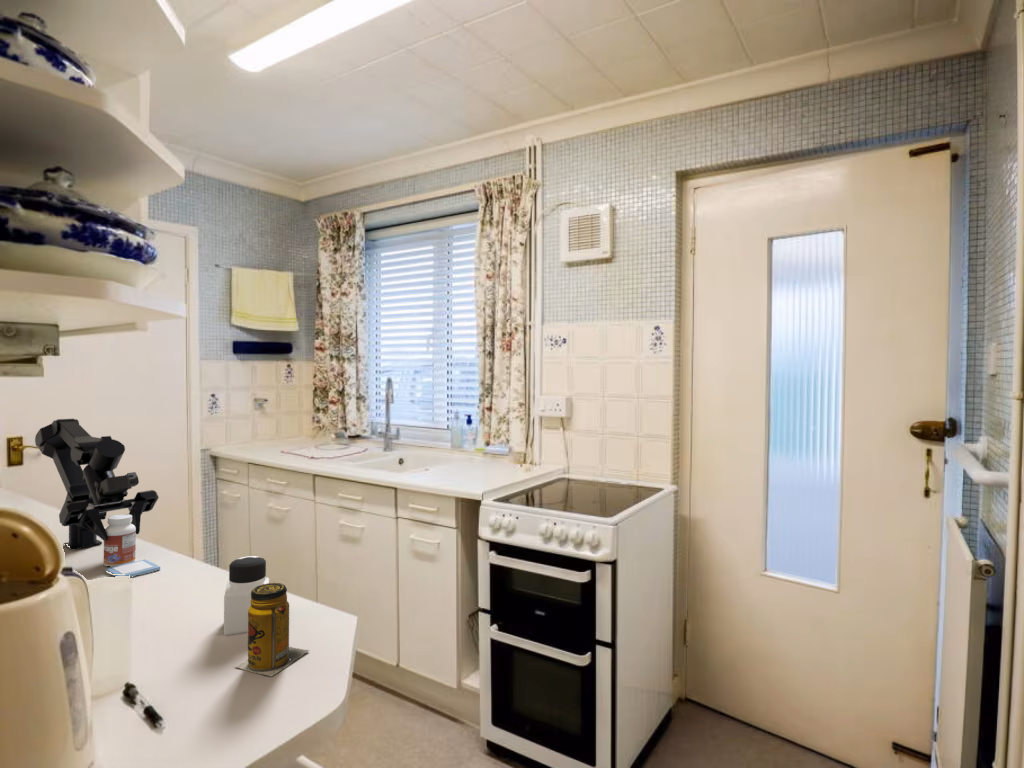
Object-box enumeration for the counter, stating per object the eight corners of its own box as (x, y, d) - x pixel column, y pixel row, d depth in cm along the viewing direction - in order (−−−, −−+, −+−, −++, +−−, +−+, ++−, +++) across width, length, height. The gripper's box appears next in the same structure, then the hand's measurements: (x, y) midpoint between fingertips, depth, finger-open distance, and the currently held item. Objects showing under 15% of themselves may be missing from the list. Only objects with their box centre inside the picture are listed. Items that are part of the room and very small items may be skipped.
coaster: (105, 572, 126) (105, 568, 126) (145, 562, 133) (145, 558, 133) (120, 580, 122) (120, 576, 122) (160, 570, 128) (160, 566, 128)
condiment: (234, 668, 88) (235, 592, 87) (275, 643, 96) (276, 574, 95) (271, 678, 85) (272, 599, 85) (309, 652, 93) (310, 580, 93)
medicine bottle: (268, 630, 100) (268, 563, 100) (223, 636, 98) (224, 568, 97) (268, 613, 107) (269, 551, 107) (226, 619, 104) (227, 555, 104)
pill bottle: (97, 565, 130) (97, 518, 130) (123, 557, 136) (123, 512, 136) (115, 569, 128) (115, 521, 128) (141, 561, 134) (141, 514, 134)
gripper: (65, 467, 126) (85, 525, 120) (155, 457, 141) (177, 508, 136) (51, 497, 130) (70, 554, 125) (140, 484, 146) (160, 534, 140)
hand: (122, 536), depth 131 cm, fingers closed on pill bottle, 6 cm apart
